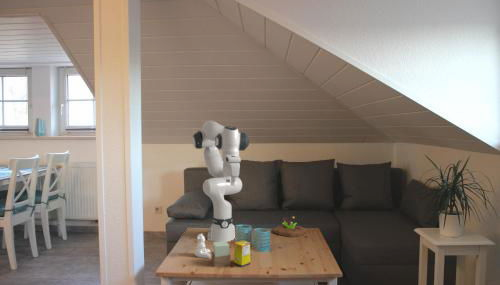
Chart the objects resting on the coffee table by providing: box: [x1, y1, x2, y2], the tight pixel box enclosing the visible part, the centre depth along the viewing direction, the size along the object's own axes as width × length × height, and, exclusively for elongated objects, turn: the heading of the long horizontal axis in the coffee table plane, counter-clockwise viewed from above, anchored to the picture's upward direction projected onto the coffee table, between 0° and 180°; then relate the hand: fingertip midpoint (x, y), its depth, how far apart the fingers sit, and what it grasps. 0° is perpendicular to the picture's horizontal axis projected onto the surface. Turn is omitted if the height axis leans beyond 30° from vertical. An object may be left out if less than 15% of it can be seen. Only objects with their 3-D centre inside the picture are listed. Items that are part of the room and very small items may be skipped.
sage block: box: [212, 241, 230, 257], centre depth 182 cm, size 7×7×5 cm
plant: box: [273, 215, 307, 238], centre depth 238 cm, size 20×20×11 cm
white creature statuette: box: [193, 233, 211, 259], centre depth 192 cm, size 10×9×12 cm
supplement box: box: [233, 239, 251, 268], centre depth 181 cm, size 6×6×11 cm
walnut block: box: [211, 251, 231, 268], centre depth 182 cm, size 8×8×5 cm
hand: (230, 184), depth 188 cm, fingers open, 8 cm apart
